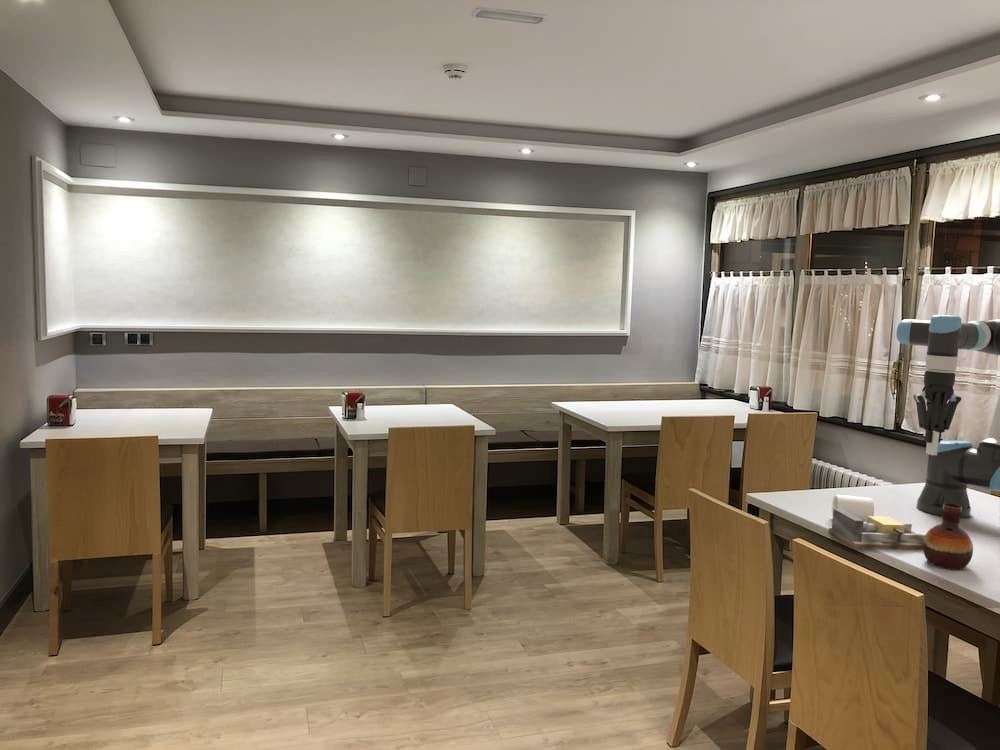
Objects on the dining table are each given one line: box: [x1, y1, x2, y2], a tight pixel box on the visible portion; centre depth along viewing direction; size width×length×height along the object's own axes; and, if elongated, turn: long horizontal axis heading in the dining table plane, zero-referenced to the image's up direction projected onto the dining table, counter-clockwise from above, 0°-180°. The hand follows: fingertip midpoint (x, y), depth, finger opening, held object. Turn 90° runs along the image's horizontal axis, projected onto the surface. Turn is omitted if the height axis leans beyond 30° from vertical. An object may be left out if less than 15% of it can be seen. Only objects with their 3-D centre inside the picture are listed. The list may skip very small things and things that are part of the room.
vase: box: [922, 503, 974, 571], centre depth 197 cm, size 11×11×15 cm
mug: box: [831, 494, 875, 522], centre depth 234 cm, size 12×10×8 cm
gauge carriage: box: [863, 515, 905, 543], centre depth 213 cm, size 9×11×4 cm
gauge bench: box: [828, 509, 926, 551], centre depth 215 cm, size 24×14×7 cm, turn 95°
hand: (931, 454), depth 218 cm, fingers closed
